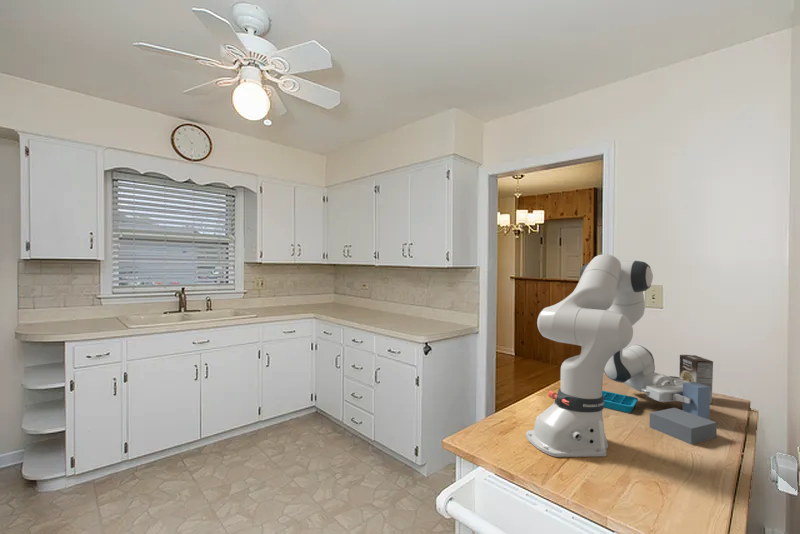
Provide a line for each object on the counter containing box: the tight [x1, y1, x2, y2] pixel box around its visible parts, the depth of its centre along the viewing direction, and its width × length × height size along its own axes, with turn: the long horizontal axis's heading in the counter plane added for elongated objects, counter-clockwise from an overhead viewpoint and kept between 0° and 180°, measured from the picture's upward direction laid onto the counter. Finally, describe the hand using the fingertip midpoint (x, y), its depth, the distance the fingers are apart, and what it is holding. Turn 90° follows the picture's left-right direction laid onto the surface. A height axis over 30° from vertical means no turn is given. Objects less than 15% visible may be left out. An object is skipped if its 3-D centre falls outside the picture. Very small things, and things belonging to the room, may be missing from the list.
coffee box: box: [679, 354, 714, 404], centre depth 143 cm, size 9×6×16 cm
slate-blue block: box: [682, 382, 711, 420], centre depth 123 cm, size 5×5×12 cm
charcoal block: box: [649, 407, 718, 445], centre depth 114 cm, size 12×12×5 cm
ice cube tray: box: [602, 389, 639, 414], centre depth 139 cm, size 12×20×3 cm, turn 49°
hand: (698, 400), depth 122 cm, fingers closed on slate-blue block, 5 cm apart
